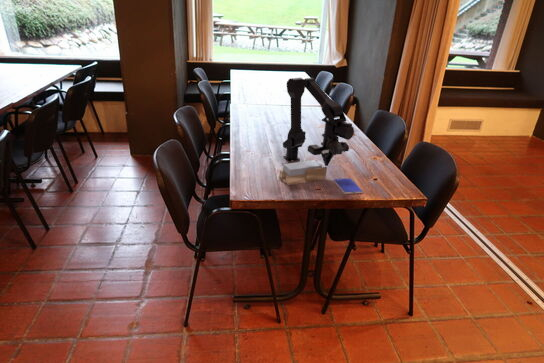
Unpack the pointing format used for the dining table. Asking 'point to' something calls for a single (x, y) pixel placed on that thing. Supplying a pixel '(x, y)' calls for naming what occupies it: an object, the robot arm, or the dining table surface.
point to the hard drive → (347, 186)
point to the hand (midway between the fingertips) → (326, 165)
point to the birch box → (304, 176)
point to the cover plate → (300, 167)
